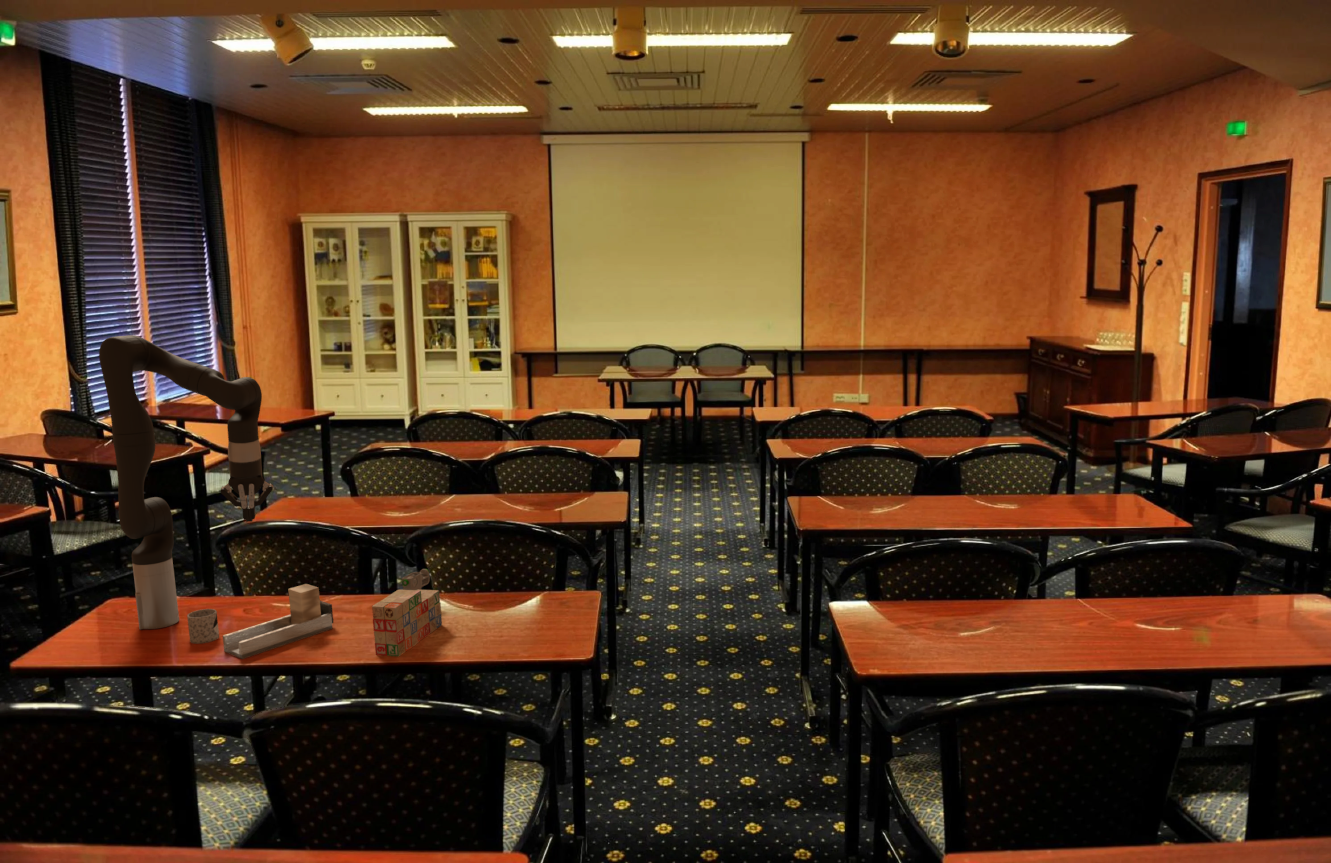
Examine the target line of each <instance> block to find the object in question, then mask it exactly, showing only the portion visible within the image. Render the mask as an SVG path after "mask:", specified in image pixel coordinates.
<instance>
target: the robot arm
mask: <svg viewBox="0 0 1331 863" xmlns="http://www.w3.org/2000/svg"><path fill="white" fill-rule="evenodd" d="M98 359H99V366H100V368H101V369H100V370H101V372H102V378H103V380H104V381H103V382H104V385H105V389H106V395H107V401H108V407H109V408H108V409H109V414H110V419H111V420H110V422H111V432H112V433H111V434H112V441H113V446H114V447H113V449H114V455H115V461H116V462H115V464H116V471H117V472H116V473H117V485H118V488H117V491H118V493H117V494H118V496H117V497H118V520H119V524H120V528H121V530H122V532H123V534H124V535H125V536H126V537H128V538H129V539H133V540H136V539H141V538H143V539H142V540H141V542H140V544H138V546H137V547H136V548H134V550H132V552H131V563H132V571H133V572H132V573H133V579H134V580H133V581H134V589H135V593H134V594H135V603H136V604H135V605H136V611H137V613H136V614H137V618H138V619H137V620H138V628H139V630H156V629H162V628H166V627H170V626H173V625H175V624H177V623H178V622H180V615H179V612H180V611H179V606H178V597H177V589H176V588H177V587H176V580H175V569H174V564H173V562H174V561H173V554H172V553H173V549H174V543H175V542H174V524H173V521H174V520H173V514H172V510H171V507H170V506H169V504H168V502H167V501H166V500H165V499H164V498H162V497H158V496H154V497H153V496H152V497H148V498H145V492H144V491H145V479H146V477H147V474H148V471H149V469H150V466H151V464H152V462H153V459H154V455H155V452H156V439H155V431H154V426H153V425H154V423H153V421H152V419H151V417H150V415H149V413H148V412H147V410H146V409H145V407H144V406H143V404H142V403H141V401H140V400H139V397H138V396H137V393H136V388H135V382H134V372H138V371H143V372H149V373H150V372H151V373H154V374H155V373H156V374H159V375H162V376H164V377H166V378H167V379H169V380H170V381H171V382H173V383H174V384H175V385H177V386H178V387H179V388H180V387H181V388H182V389H185V390H186V391H190V392H192V393H194V394H195V393H196V394H198V395H201V396H204V397H206V398H208V399H209V400H210V401H212V402H213V403H215V404H217V405H218V406H220V407H221V408H224V409H227V410H231V411H232V410H233V411H234V413H233V415H232V416H231V417H230V418H229V419H228V420H227V438H228V445H227V458H228V465H229V478H228V481H227V484H225V485H223V486H221V488H220V494H221V495H222V496H224V497H225V498H226V499H227V500H228V501H229V502H230V503H231V504H232V505H233V507H236V508H241V509H242V519H243V520H244V521H246V523H252V522H253V521H254V520H255V519H256V507H258V506H261V505H262V504H263V503H264V501H265V500H266V499H267V498H268V497H269V495H270V494H271V493H272V491H273V490H274V484H273V483H268V482H267V481H266V478H265V477H264V476H263V468H262V454H261V444H260V438H259V426H258V422H259V418H260V412H261V406H262V402H263V396H262V394H263V393H262V388H261V386H260V384H259V383H258V381H257V380H255V379H254V378H252V377H249V376H243V377H240V378H237V379H235V380H226V379H225V376H224V374H223V373H222V372H220V371H219V370H216V369H214V368H211V367H209V366H206V365H202V364H199V363H196V362H194V361H190V360H188V359H186V358H183V357H180V356H178V355H176V354H175V353H174V354H173V353H171V352H170V351H167V350H166V349H164V348H162V347H160V346H158V345H157V344H155V343H153V342H151V341H149V340H147V339H145V338H143V337H141V336H139V335H135V334H134V335H133V334H132V335H131V334H130V335H119V336H110V337H107V338H106V339H104V340H103V341H102V343H101V344H100V346H99V350H98ZM261 488H262V491H263V492H261V494H260V495H259V496H258V497H257V499H256V495H257V494H258V492H259V491H260V489H261ZM232 490H233V491H234V492H235V493H236V494H237V495H239V498H238V497H237V496H236V495H235V494H234V493H233V492H232Z"/></svg>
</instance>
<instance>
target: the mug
mask: <svg viewBox="0 0 1331 863" xmlns="http://www.w3.org/2000/svg"><path fill="white" fill-rule="evenodd" d="M217 613H218V611H217V610H216V609H214V608H205V609H197V610H195V611H192V612H190V613H189V612H188V613H187V615H186V616H187V626H188V627H187V628H188V636H189V642H190V643H191V644H196V645H201V644H202V645H203V644H208V643H212V642H214V641H217V640H218V639H219V638H220V630H219V621H218V614H217Z"/></svg>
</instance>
